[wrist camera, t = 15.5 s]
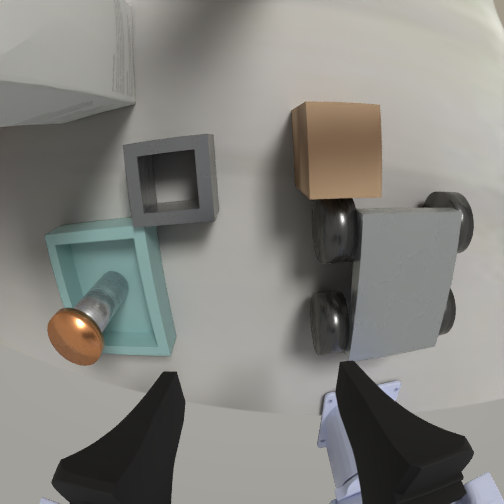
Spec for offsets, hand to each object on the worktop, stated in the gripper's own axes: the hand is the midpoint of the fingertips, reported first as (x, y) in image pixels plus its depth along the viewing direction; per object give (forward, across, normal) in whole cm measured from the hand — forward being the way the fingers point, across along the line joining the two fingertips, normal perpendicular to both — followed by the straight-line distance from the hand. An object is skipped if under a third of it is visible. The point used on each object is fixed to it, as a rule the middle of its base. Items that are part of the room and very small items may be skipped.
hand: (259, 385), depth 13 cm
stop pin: (+10, +10, 0) cm, 14 cm away
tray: (+10, +10, 0) cm, 15 cm away
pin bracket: (+10, +4, -8) cm, 14 cm away
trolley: (+10, -10, -1) cm, 14 cm away
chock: (+10, -5, -9) cm, 15 cm away
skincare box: (+11, +10, -17) cm, 22 cm away
